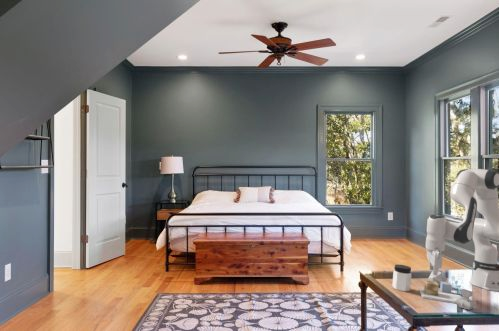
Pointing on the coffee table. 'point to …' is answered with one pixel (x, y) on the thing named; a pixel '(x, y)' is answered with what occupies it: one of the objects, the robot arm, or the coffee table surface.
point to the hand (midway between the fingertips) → (433, 272)
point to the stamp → (466, 300)
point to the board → (441, 296)
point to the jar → (402, 278)
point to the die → (437, 278)
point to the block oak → (431, 288)
